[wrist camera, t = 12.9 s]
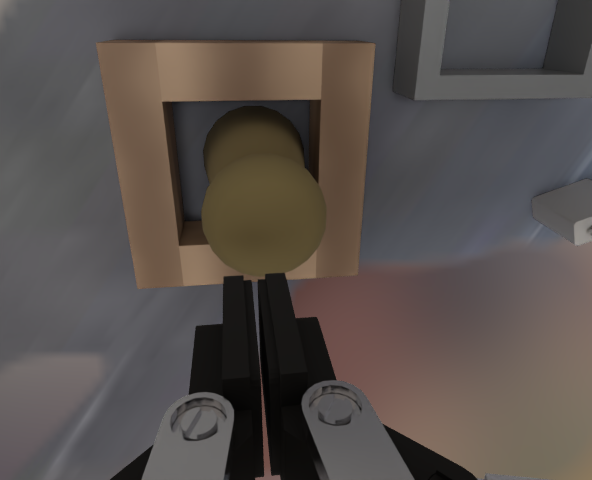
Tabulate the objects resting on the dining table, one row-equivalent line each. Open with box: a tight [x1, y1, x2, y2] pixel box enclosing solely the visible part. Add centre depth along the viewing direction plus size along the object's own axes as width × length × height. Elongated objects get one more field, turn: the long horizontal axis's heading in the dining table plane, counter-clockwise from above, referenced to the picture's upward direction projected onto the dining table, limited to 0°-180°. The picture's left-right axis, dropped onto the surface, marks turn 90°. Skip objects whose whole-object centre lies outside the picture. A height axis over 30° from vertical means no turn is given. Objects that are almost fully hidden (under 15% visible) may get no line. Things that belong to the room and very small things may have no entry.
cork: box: [201, 106, 327, 277], centre depth 22 cm, size 6×6×11 cm
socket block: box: [96, 40, 375, 289], centre depth 26 cm, size 13×13×4 cm
